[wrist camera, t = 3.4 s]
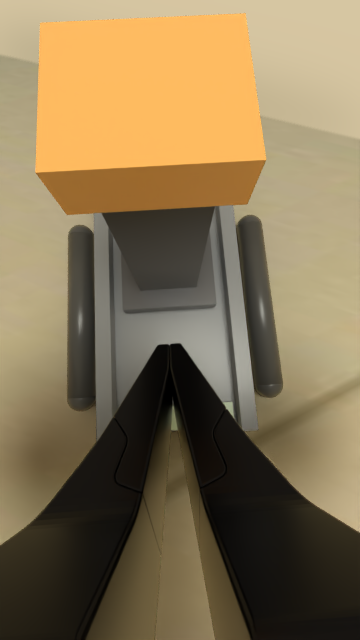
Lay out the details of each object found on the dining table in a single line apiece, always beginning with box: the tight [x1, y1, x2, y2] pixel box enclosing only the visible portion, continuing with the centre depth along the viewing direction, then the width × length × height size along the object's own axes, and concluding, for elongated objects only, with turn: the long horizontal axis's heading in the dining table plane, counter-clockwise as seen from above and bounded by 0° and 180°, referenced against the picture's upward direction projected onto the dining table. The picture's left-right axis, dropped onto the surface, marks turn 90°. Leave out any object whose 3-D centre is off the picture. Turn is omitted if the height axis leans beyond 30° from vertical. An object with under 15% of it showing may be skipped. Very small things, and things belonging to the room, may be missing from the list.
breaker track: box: [67, 205, 283, 441], centre depth 16 cm, size 16×13×3 cm
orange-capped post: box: [36, 13, 266, 313], centre depth 10 cm, size 5×5×10 cm
